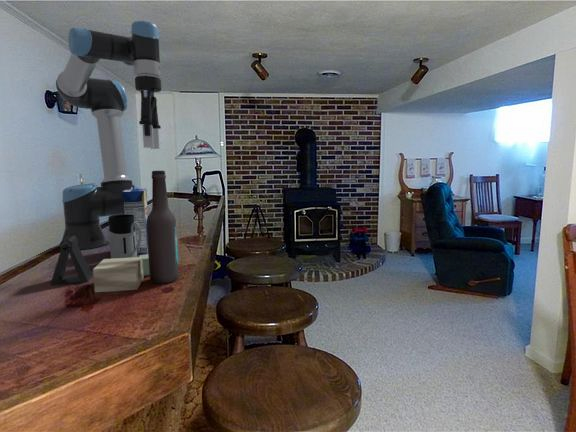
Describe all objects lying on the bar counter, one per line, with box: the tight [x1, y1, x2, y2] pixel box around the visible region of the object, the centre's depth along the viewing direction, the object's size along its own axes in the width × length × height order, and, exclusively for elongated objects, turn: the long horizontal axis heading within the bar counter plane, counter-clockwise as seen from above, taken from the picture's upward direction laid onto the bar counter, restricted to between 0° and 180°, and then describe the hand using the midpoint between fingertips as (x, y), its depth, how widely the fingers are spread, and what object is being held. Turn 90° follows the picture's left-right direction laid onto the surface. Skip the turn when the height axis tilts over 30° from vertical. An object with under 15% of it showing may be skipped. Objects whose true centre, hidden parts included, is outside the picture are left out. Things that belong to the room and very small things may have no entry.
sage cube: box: [138, 253, 150, 277], centre depth 113 cm, size 5×5×5 cm
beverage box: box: [122, 188, 149, 255], centre depth 138 cm, size 7×11×22 cm, turn 16°
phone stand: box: [50, 236, 93, 286], centre depth 106 cm, size 9×6×12 cm, turn 105°
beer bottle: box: [147, 170, 179, 284], centre depth 104 cm, size 8×8×30 cm
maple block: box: [92, 256, 144, 293], centre depth 102 cm, size 10×10×6 cm
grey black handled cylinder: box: [107, 214, 141, 259], centre depth 122 cm, size 9×14×15 cm, turn 55°
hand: (152, 148), depth 120 cm, fingers open, 13 cm apart
